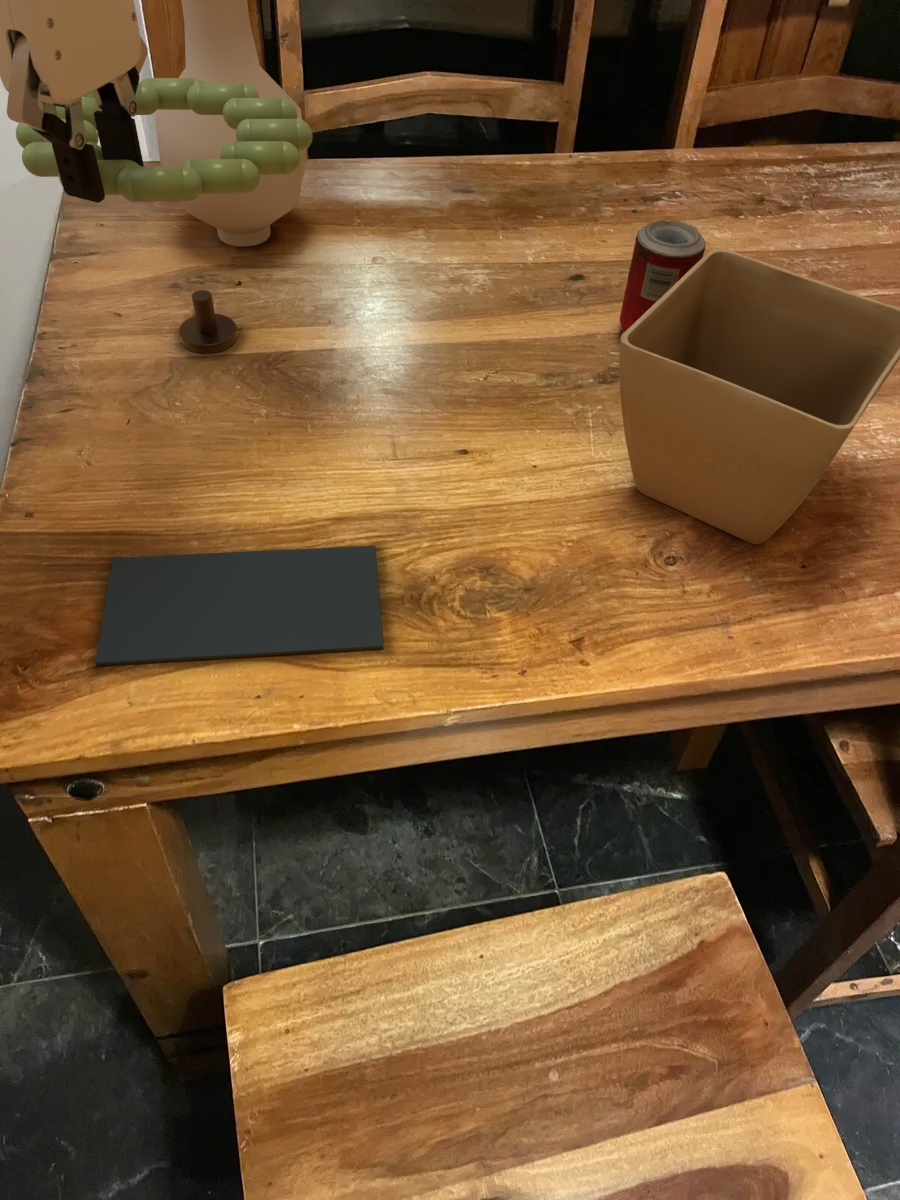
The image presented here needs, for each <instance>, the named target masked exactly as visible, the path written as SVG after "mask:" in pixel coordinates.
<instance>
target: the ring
mask: <svg viewBox="0 0 900 1200" xmlns="http://www.w3.org/2000/svg"><path fill="white" fill-rule="evenodd" d="M135 97H136V100H137V103H138V112H137V114H136V116H150V115H152V114H154V113H156V112H157V110H192V111H194V112H195V113H197V114H199V115H223V118H224V120H225V122H226V123H227V125H228V126H230V127H231V128H233V129H235V130H236V139H237V141H233V142H229V143H227V144H225V145H224V146H223V148H222V149H221V152H220V159H189V160H185V161H183V162H182V163H181V164H180V165H179V166H162V165H149V166H148V165H144V166H140V165H139V164H137V163H136V162H134V161H131V160H104V159H103V154H102V150H101V146H100V144H99V145H98V143H99V137H98V132H97V128H96V124H95V117H94V112H96V111H97V110H98V111H102V109H100V108H99V107H98V105H97V103H96V100H95V97H94V95H93V92H91V93H90V94H88V95H86V96H84V97H82V98H81V100H82V110H83V120H84V130H85V143H86V144H90V145H93V148H94V150H95V154H96V158H97V163H98V167H99V171H100V175H101V180H102V184H103V188H104V193H105V196H122V197H123V198H124V199H125V200H128V201H129V202H135V203H142V202H143V203H144V202H145V203H146V202H147V203H148V202H151V203H152V202H179V201H192V200H194V199H196V198H197V197H198V196H199V195H200V194H243V193H250V192H252V191H254V190H255V189H256V188H257V187H258V185H259V181H260V175H289V174H292V173H293V172H295V171H296V169H297V168H298V166H299V163H300V156H299V152H298V151H304V150H306V151H307V149H308V148H310V146H311V144H312V142H313V130H312V128H311V126H310V125H309V123H308V122H306V121H305V120H303V119H302V120H301V119H297V110H296V107H295V106H294V104H293V103H292V102H291V101H290V100H288V99H285V98H260V96H259V93H258V91H257V90H256V89H255V88H254V87H253V86H251V85H249V84H242V83H205V82H204V81H202V80H200V79H197V78H179V77H146V78H144V79H141V80H140V81H139V83H138V87H137V91H136V95H135ZM56 112H57V117H59V118H60V119H61V120H63V121H64V122H65V123H66V119H65V110H64V108H63V107H59V106H56ZM15 138H16V141H17V143H18V144H19V145H20V147H21V148H22V149H23V150H22V153H21V161H22V164H23V166H24V168H25V169H26V170H27V171H28V172H29V173H30V174H31V175H33V176H35V177H39V178H40V177H41V178H58V180H59V183H60V184H61V187H63V185H62V181H61V178H60V174H59V170H58V166H57V163H56V159H55V155H54V151H53V147H52V144H51V143H49V142H46V141H44V140H43V138H42V136H41V135H40V134H39V133H37V132H36V131H34V130H33V129H32V128H30V127H28V126H25V125H23V124H20V123H18V124H17V126H16V128H15Z"/></svg>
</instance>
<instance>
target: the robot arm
mask: <svg viewBox="0 0 900 1200" xmlns="http://www.w3.org/2000/svg"><path fill="white" fill-rule="evenodd" d="M140 34H141V33H140V27H139V21H138V15H137V10H136V5H135V0H0V81H1V83H2V86H3V87H4V89H5V91H7V92H8V96H7V104H6V114H7V118H8V119H9V120H10V121H13V122H16V123H18V124H19V123H20V124H23V125H25V126H28V127H30V128H32V129H33V130H34V131H36V132H37V133H39V134H40V135H41V136H42V138H43V140H44V141H46V142H49V143H51V144H52V147H53V151H54V155H55V159H56V163H57V166H58V170H59V174H60V178H61V181H62V185H63V186H62V185H61V186H62V188H63V191H64V193H65V194H66V195H67V196H70V197H72V198H73V197H74V198H78V199H81V200H85V201H88V202H92V203H98V204H99V203H102V201H105V198H106V195H105V193H104V188H103V184H102V180H101V175H100V171H99V167H98V163H97V158H96V154H95V150H94V148H93V145H90V144H86V143H85V130H84V120H83V110H82V100H81V98H84V96H86V95H88V94H90V93H91V92H93V95H94V97H95V100H96V103H97V105H98V107H99V108H100V109H102V111H98V110H97V111H96V112H94V117H95V124H96V128H97V133H98V142H99V146H100V147H101V150H102V154H103V159H104V160H131V161H134V162H136V163H137V164H139V165H140V166H145V165H144V160H143V154H142V150H141V144H140V140H139V139H140V138H139V133H138V129H137V125H136V120H135V118H134V117H136V116H137V115H136V114H137V112H138V103H137V100H136V97H135V95H136V91H137V87H138V83H140V74H141V71H142V69H143V67H144V64H145V61H146V59H147V57H148V52H149V50H148V46H147V44H146V42H145V41H144V39H143V38H142V37H141V35H140ZM56 106H59V107H63V108H64V110H65V119H66V123H65V122H64V121H63V120H61V119H60V118H59V117H57V112H56Z"/></svg>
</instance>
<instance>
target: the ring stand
mask: <svg viewBox="0 0 900 1200" xmlns="http://www.w3.org/2000/svg"><path fill="white" fill-rule="evenodd" d="M191 299H192V304H193V310H194V311H193V312H194V315H193V316H191V317H189V318H187V319H186V320H184V321H183V322H182V323H181V324H180V326H179V327H178V335H179V341H180V344H182V346H183V347H184V348H185V349H187V350H189V351H191V352H194V353H197V354H213V353H219V352H222V351H225V350H227V349H229V348H230V347H232V346H233V345H234V344H235V342H236V341H237V339H238V329H237V325H236V323H235V321H234V320H233V319H231V318H230V317H229V316H227V315H224V314H220V313H215V307H214V300H213V297H212V292H211V291H209V290H206V289H201V290H200V289H199V290H196V291H194V292H193V293H192V294H191Z"/></svg>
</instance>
